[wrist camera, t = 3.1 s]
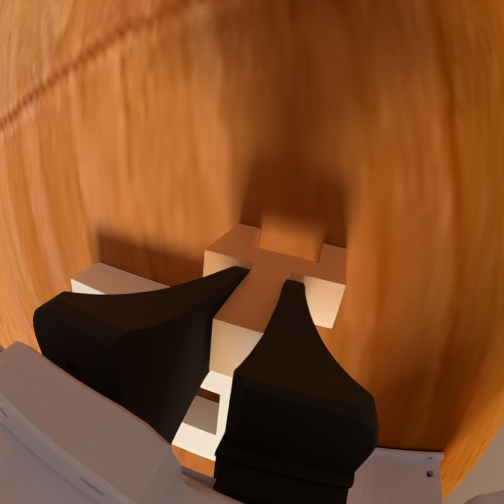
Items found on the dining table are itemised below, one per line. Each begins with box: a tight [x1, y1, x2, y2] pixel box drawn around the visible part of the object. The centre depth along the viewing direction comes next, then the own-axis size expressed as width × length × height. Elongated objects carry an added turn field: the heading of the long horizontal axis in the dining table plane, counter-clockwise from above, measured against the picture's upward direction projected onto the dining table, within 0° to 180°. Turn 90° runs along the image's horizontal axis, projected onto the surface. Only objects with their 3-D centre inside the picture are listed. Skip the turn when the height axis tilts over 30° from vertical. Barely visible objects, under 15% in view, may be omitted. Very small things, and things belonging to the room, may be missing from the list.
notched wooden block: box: [203, 224, 346, 378], centre depth 12 cm, size 6×2×8 cm, turn 82°
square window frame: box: [71, 262, 233, 461], centre depth 20 cm, size 14×14×3 cm
